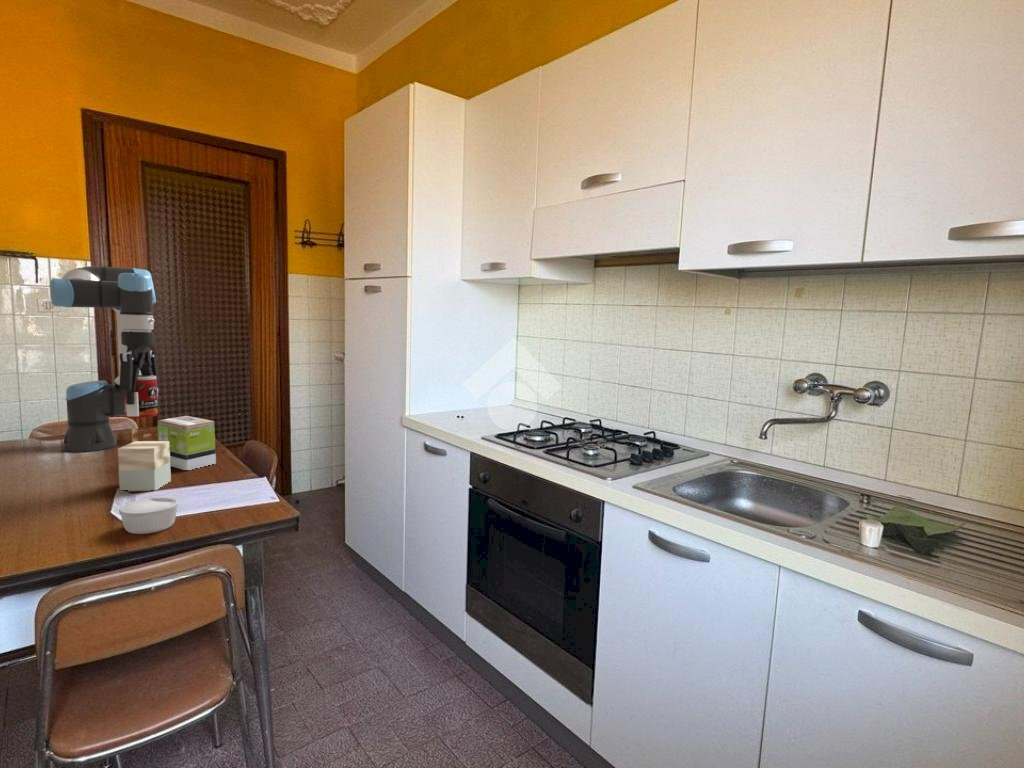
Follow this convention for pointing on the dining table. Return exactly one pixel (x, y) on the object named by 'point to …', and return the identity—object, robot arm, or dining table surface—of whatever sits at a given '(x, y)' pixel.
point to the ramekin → (149, 515)
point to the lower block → (144, 478)
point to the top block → (144, 455)
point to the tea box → (189, 441)
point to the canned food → (146, 397)
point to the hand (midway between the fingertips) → (141, 413)
